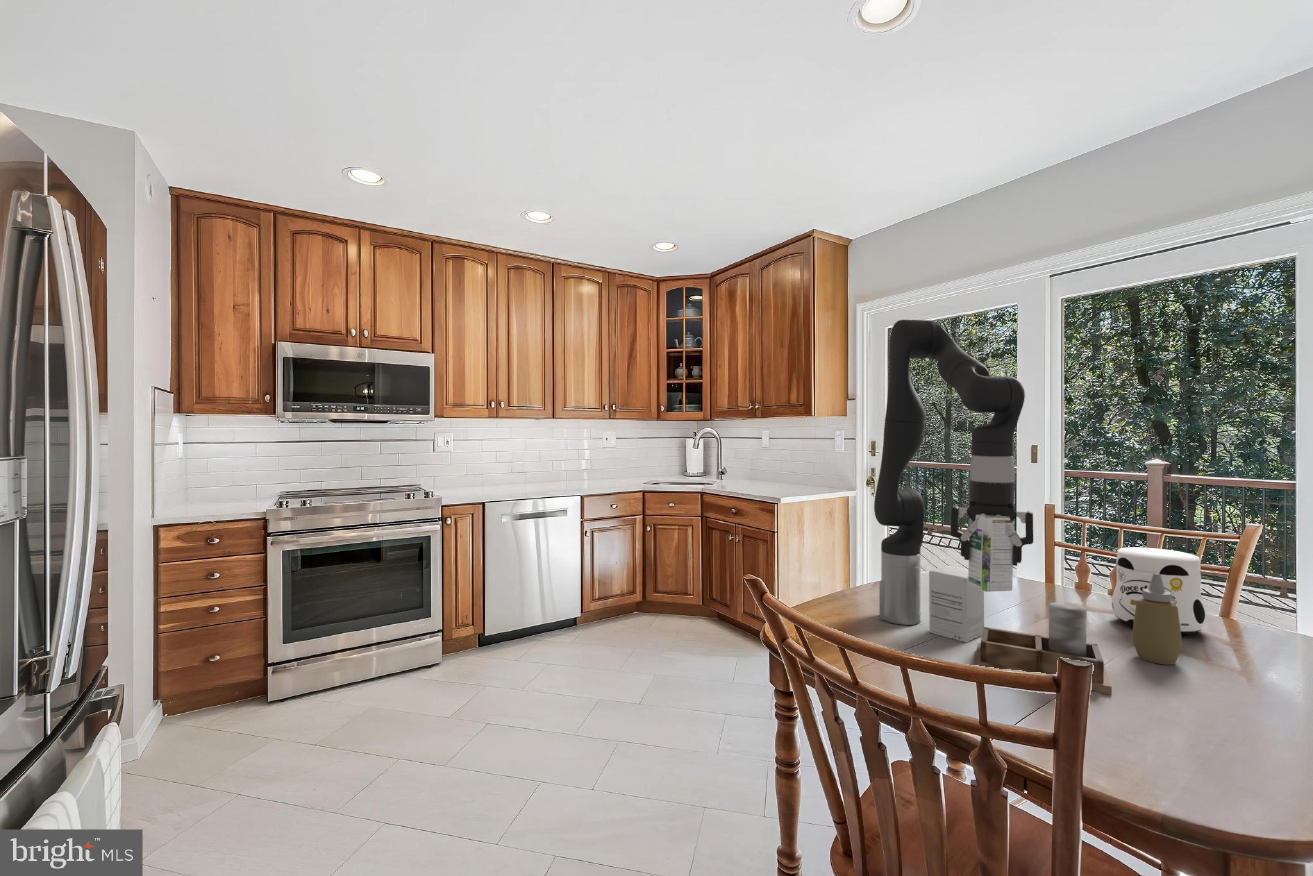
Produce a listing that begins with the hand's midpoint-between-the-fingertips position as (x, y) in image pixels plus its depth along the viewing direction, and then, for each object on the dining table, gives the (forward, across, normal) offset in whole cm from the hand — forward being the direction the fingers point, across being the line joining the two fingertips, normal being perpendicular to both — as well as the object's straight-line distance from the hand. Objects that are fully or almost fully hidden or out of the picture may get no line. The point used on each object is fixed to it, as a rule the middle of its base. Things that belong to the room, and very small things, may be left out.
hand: (990, 562), depth 114 cm
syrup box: (+5, 0, 0) cm, 5 cm away
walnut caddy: (+22, +8, +8) cm, 25 cm away
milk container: (+23, +32, +53) cm, 66 cm away
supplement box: (+23, -8, +23) cm, 33 cm away
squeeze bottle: (+23, +29, +27) cm, 46 cm away
